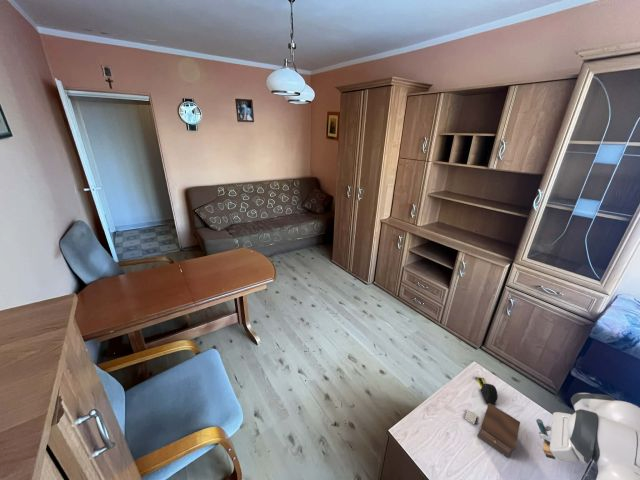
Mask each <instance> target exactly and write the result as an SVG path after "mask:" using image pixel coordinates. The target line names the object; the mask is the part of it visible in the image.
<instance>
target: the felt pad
mask: <svg viewBox="0 0 640 480" xmlns="http://www.w3.org/2000/svg"><path fill="white" fill-rule="evenodd" d="M477 417H478V416H477V415H476V414H474V413H473V412H472V411H470V410H467V411H466V414H465V417H464V419H465V420H466V421H468V422H470V423H471V424H472V425H475V423H476V420H477Z"/></svg>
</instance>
